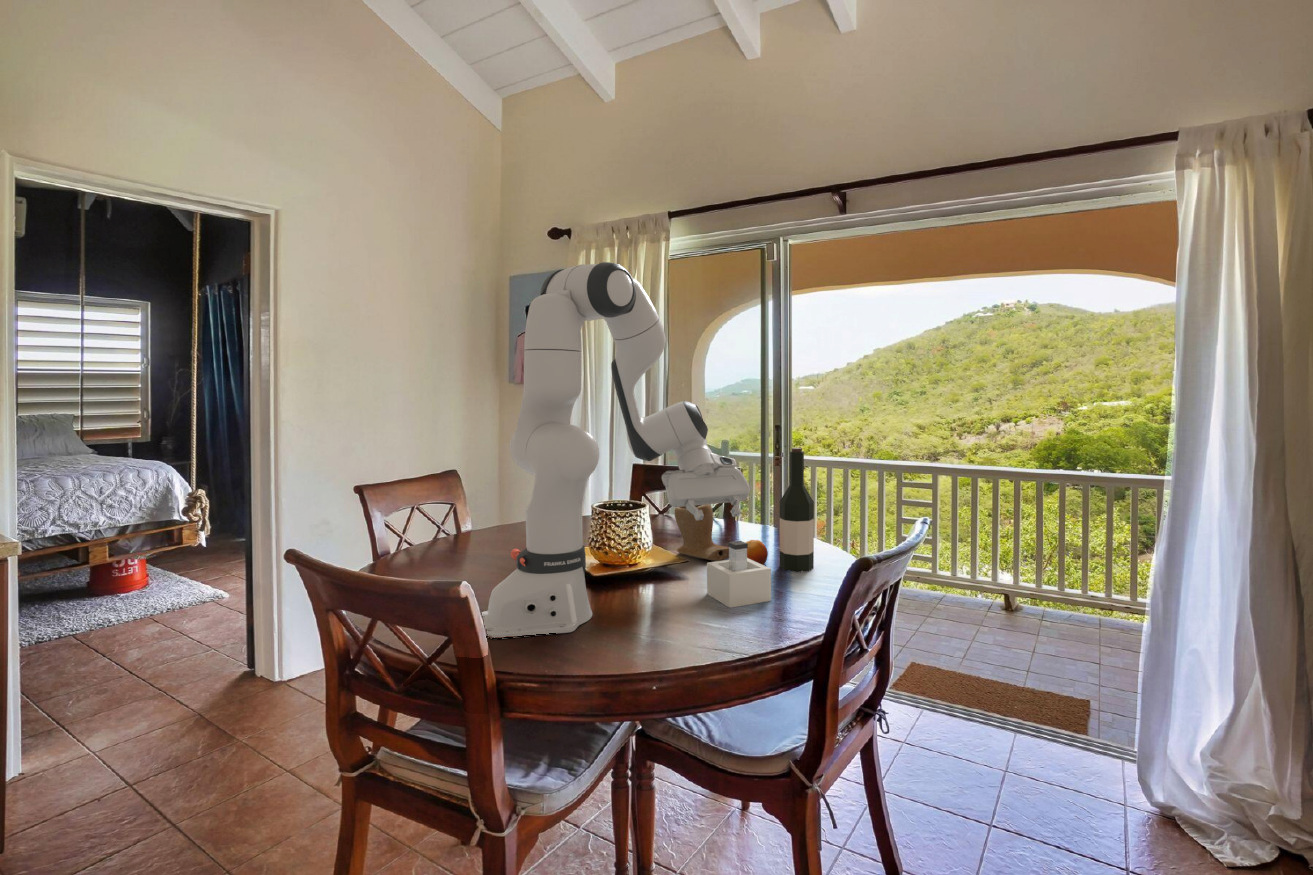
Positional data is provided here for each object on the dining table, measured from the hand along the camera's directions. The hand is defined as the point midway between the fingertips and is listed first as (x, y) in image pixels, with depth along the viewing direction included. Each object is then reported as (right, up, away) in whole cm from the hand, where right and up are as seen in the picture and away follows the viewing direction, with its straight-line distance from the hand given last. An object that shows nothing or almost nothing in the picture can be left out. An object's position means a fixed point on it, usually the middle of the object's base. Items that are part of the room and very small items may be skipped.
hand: (718, 517), depth 150 cm
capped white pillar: (+4, -16, -7) cm, 17 cm away
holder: (+4, -17, -6) cm, 18 cm away
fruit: (+10, -15, +17) cm, 25 cm away
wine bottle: (+21, -15, +16) cm, 30 cm away
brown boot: (-2, -14, +27) cm, 31 cm away
